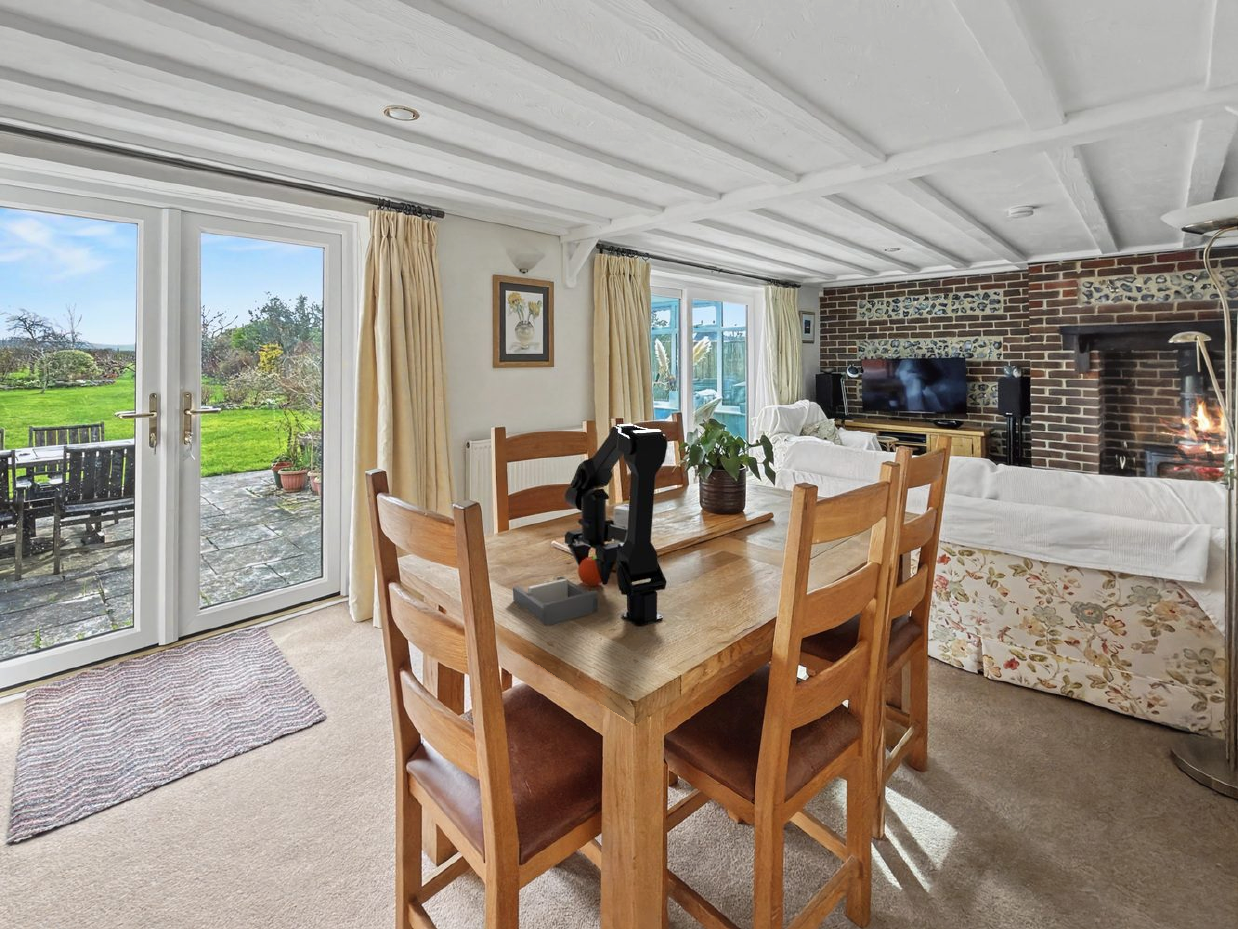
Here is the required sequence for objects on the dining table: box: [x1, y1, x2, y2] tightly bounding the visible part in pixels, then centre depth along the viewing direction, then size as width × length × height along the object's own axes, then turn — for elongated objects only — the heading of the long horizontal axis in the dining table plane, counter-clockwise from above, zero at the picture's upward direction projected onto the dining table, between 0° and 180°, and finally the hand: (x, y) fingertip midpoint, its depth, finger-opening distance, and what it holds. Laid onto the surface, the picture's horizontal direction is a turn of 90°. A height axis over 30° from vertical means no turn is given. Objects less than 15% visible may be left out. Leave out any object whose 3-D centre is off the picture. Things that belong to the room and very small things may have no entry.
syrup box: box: [612, 503, 629, 544], centre depth 168 cm, size 6×6×14 cm
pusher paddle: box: [527, 578, 568, 603], centre depth 139 cm, size 1×9×4 cm, turn 124°
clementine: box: [577, 555, 602, 587], centre depth 149 cm, size 8×7×7 cm
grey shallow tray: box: [512, 576, 599, 627], centre depth 137 cm, size 16×12×4 cm
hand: (594, 578), depth 149 cm, fingers open, 9 cm apart
